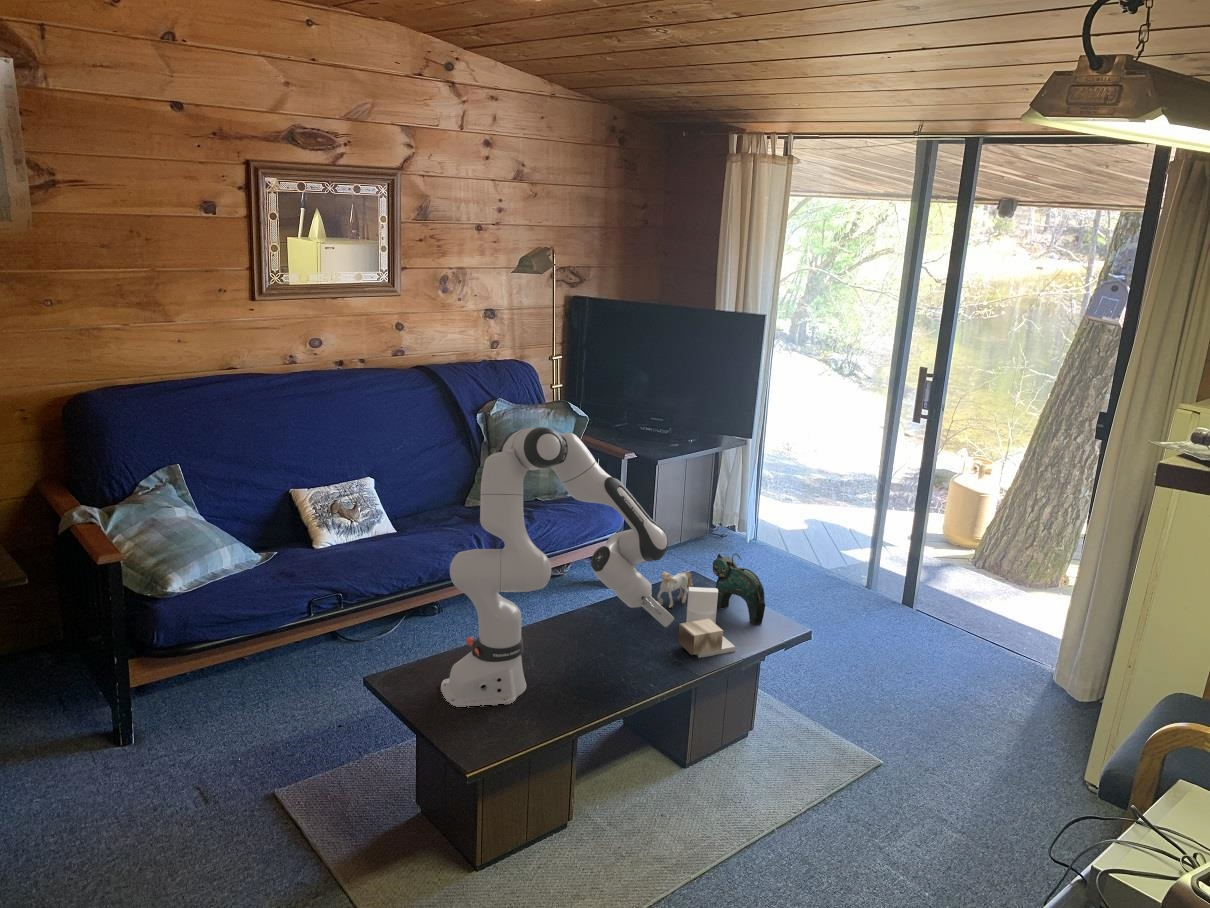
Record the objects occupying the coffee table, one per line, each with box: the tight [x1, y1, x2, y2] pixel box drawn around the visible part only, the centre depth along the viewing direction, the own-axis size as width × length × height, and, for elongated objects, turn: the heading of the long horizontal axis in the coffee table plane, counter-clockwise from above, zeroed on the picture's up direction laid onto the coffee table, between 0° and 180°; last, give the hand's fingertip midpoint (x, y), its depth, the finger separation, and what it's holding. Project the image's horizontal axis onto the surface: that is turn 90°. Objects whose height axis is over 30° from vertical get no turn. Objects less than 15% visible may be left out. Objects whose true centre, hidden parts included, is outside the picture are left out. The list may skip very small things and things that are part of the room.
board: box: [694, 635, 736, 659], centre depth 282 cm, size 12×12×2 cm
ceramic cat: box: [712, 553, 766, 626], centre depth 301 cm, size 20×6×20 cm, turn 40°
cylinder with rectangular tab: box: [685, 586, 718, 624], centre depth 293 cm, size 9×9×12 cm
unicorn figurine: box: [656, 571, 694, 608], centre depth 305 cm, size 7×20×13 cm, turn 150°
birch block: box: [677, 619, 724, 656], centre depth 278 cm, size 6×8×10 cm
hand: (665, 619), depth 269 cm, fingers closed
